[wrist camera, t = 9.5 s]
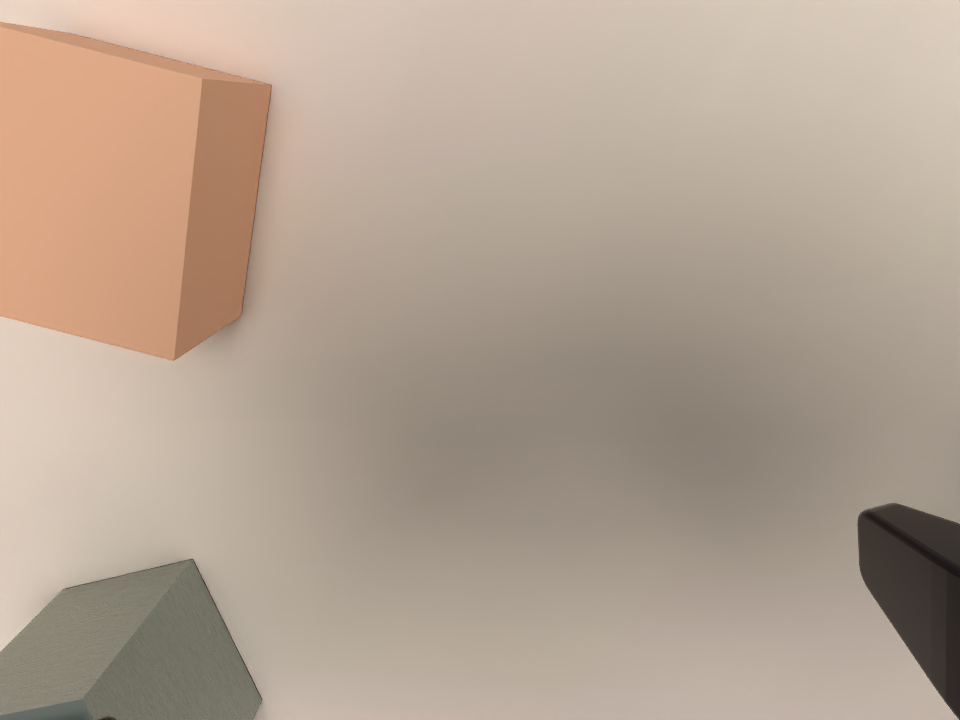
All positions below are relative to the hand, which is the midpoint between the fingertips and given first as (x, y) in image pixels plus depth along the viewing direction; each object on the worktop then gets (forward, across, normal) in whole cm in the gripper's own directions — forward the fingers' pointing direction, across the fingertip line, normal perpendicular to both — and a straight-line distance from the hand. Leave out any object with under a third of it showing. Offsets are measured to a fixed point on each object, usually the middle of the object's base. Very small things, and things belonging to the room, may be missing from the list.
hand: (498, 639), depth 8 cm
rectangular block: (+14, +6, -5) cm, 17 cm away
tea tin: (+14, +12, +10) cm, 21 cm away
